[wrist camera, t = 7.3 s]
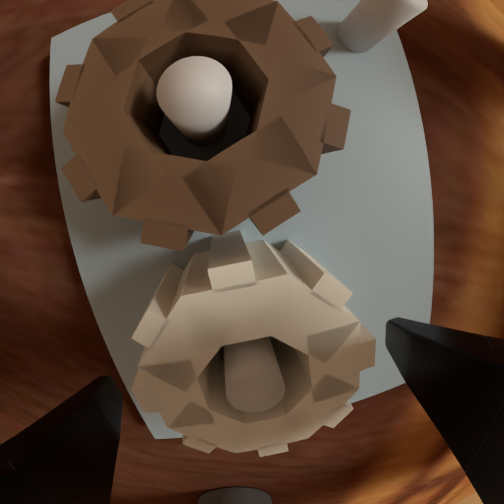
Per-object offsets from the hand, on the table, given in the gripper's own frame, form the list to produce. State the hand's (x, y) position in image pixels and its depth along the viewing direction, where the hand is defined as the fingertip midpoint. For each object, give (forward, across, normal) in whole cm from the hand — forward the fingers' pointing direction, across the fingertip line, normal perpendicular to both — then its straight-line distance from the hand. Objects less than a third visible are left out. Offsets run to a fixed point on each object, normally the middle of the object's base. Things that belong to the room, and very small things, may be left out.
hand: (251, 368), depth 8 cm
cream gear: (+3, 0, 0) cm, 3 cm away
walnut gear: (+3, 0, -8) cm, 8 cm away
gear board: (+4, -2, -4) cm, 6 cm away
